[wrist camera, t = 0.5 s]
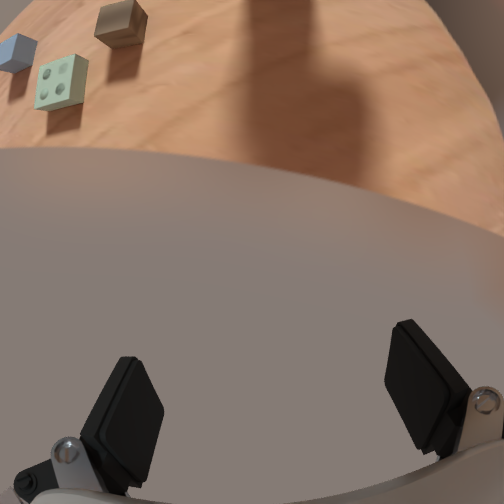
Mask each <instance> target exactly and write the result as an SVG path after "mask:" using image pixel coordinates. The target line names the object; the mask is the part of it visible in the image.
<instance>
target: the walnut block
mask: <svg viewBox="0 0 504 504" xmlns="http://www.w3.org/2000/svg"><path fill="white" fill-rule="evenodd" d="M147 19H148V15H147V14H146V13H145V11H144V10H143V9H142V8H141V6H140V5H139V4H138V2H137V1H136V0H125V1H121V2H118V3H114V4H110V5H107V6H103V7H101V8H100V12H99V16H98V20H97V24H96V29H95V33H94V37H96V38H97V39H99V40H100V41H101V42H103V43H104V44H106V45H107V46H108V47H110V48H111V49H116V48H121V47H126V46H131V45H136V44H142V43H144V37H145V30H146V24H147Z"/></svg>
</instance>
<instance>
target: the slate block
mask: <svg viewBox="0 0 504 504" xmlns="http://www.w3.org/2000/svg"><path fill="white" fill-rule="evenodd" d="M37 42H38V41H36V40H33V39H31V38H29V37H26V36H24V35H21V34H19V33H17V34H16V35H14V36H12V37H10V38H9V39H7V40H5V41H4V42H2V43H0V70H1V71H6V72H10V73H17V72H19V71H21V70H23V69H25V68H27V67H30V66H32V65H33V60H34V55H35V50H36V46H37Z"/></svg>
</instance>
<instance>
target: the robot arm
mask: <svg viewBox="0 0 504 504" xmlns="http://www.w3.org/2000/svg"><path fill="white" fill-rule="evenodd" d="M384 380H385V381H384V382H385V386H386V388H387V390H388V392H389V394H390V396H391V398H392V400H393V402H394V404H395V406H396V408H397V410H398V412H399V414H400V416H401V418H402V420H403V422H404V424H405V426H406V428H407V430H408V432H409V434H410V436H411V438H412V440H413V442H414V444H415V446H416V448H417V449H419V450H420V449H421V450H422V452H423V455H425V454H427V453H430V452H432V451H434V450H435V452H436V454H437V455H438V456H437V459H436V462H435V463H433V464H431V465H429V466H426V467H424V468H421V469H419V470H416V471H414V472H411V473H408V474H406V475H403V476H400V477H397V478H394V479H392V480H389V481H386V482H383V483H379V484H376V485H373V486H370V487H366V488H362V489H359V490H355V491H351V492H347V493H343V494H339V495H334V496H329V497H324V498H319V499H313V500H307V501H300V502H294V503H285V504H504V398H503V396H502V394H501V393H500V392H499V391H498V390H497V389H495V388H493V387H489V386H482V387H478V388H476V389H475V390H473V391H472V390H471V388H469V386H468V385H467V383H466V382H465V381H464V379H463V378H462V377H461V376H460V374H459V373H458V372H457V371H456V369H455V368H454V367H453V366H452V364H451V363H450V362H449V361H448V360H447V358H446V357H445V356H444V355H443V354H442V353H441V351H440V350H439V349H438V348H437V347H436V345H435V344H434V343H433V342H432V341H431V340H430V338H429V337H428V336H427V335H426V334H425V333H424V331H423V330H422V329H421V328H420V327H419V326H418V325H417V324H416V323H415V321H414V320H412V319H409V320H405V321H401V322H398V323H397V325H396V327H394V328H393V330H392V337H391V345H390V350H389V357H388V362H387V368H386V373H385V379H384ZM163 417H164V408H163V405H162V403H161V401H160V399H159V397H158V395H157V393H156V391H155V389H154V387H153V385H152V383H151V381H150V379H149V377H148V374H147V372H146V371H145V368H144V365H143V363H142V361H140V360H138V359H137V358H136V357H121V358H120V359H119V361H118V362H117V364H116V366H115V368H114V370H113V371H112V373H111V375H110V377H109V379H108V380H107V382H106V384H105V386H104V388H103V390H102V392H101V394H100V395H99V397H98V399H97V401H96V403H95V405H94V407H93V409H92V411H91V413H90V415H89V416H88V418H87V420H86V423H85V424H84V427H83V429H82V430H81V433H80V435H81V436H80V439H77V438H75V437H64V438H62V439H60V440H58V441H57V442H56V443H55V444H54V446H53V447H52V449H51V459H49V460H47V461H44V462H42V463H40V464H37V465H35V466H33V467H30V468H28V469H25V470H23V471H21V472H19V473H18V475H17V476H16V478H15V480H14V489H13V488H12V487H9V488H8V489H7V490H5V491H4V492H3V493H2V494H0V504H170V503H162V502H155V501H148V500H141V499H135V498H131V497H130V495H129V494H128V492H127V490H128V487H129V486H131V487H136V488H141V487H142V483H143V482H145V481H146V480H147V477H148V473H149V469H150V464H151V461H152V457H153V454H154V449H155V446H156V442H157V438H158V435H159V431H160V427H161V424H162V420H163Z"/></svg>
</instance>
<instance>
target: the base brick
mask: <svg viewBox="0 0 504 504" xmlns="http://www.w3.org/2000/svg"><path fill="white" fill-rule="evenodd" d="M87 68H88V60H87V59H85V58H83V57H81V56H79V55H77V54H73V55H70V56H67V57H64V58H61V59H58V60H55V61H52V62H50V63H47V64H45V65H42V66H40V69H39V75H38V81H37V88H36V95H35V104H34V109H37V110H44V111H52V110H56V109H60V108H63V107H67V106H71V105H76V104H80V103H83V102H84V92H85V83H86V75H87Z"/></svg>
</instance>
